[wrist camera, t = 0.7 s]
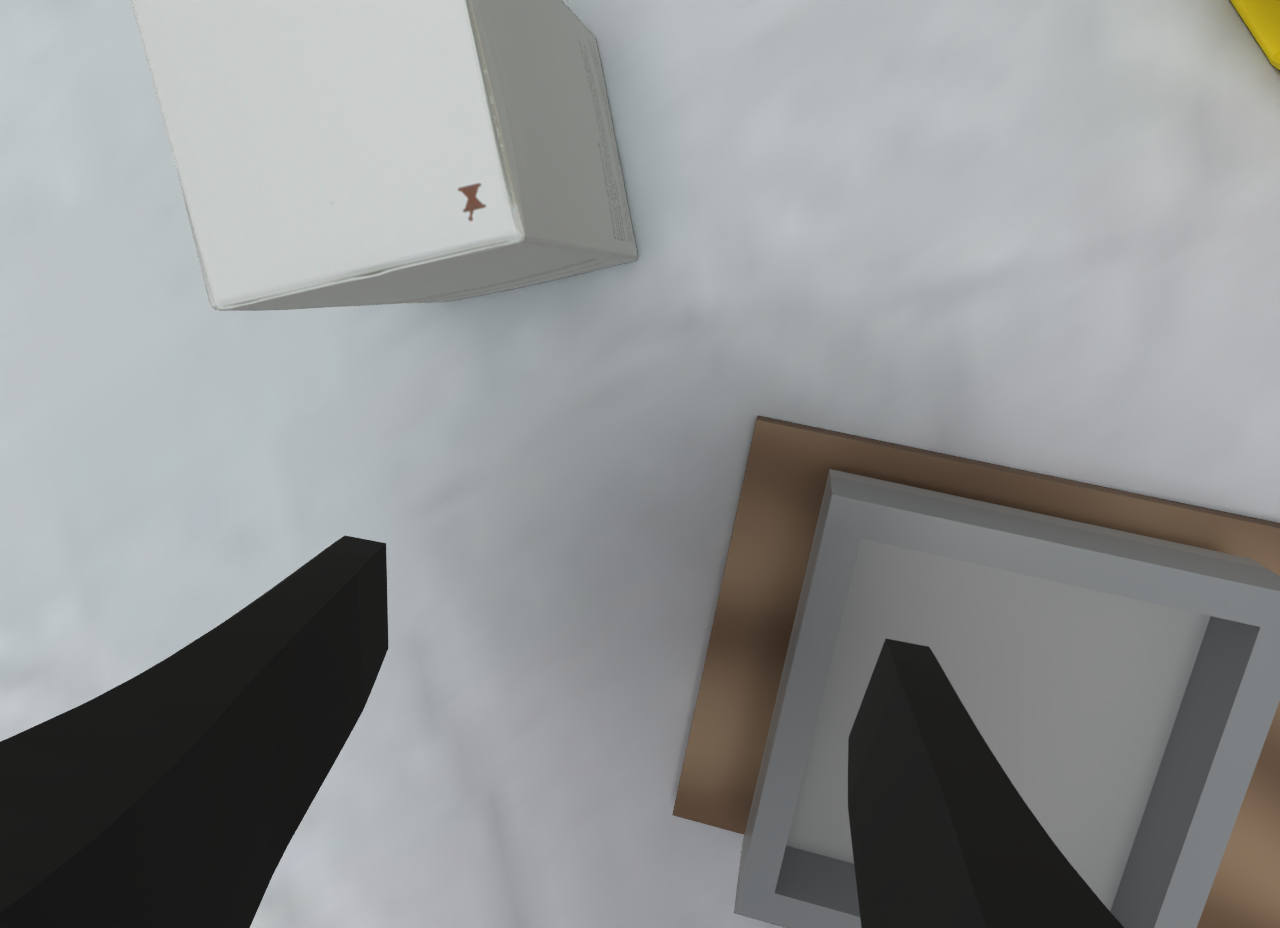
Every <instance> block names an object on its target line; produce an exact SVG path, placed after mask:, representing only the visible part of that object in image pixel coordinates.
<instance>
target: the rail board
mask: <svg viewBox="0 0 1280 928" xmlns="http://www.w3.org/2000/svg"><path fill="white" fill-rule="evenodd" d="M829 469H832V470H837V471H841V472H846V473H851V474H855V475H860V476H865V477H870V478H874V479H879V480H884V481H888V482H893V483H898V484H903V485H907V486H912V487H917V488H921V489H926V490H931V491H936V492H940V493H945V494H950V495H954V496H959V497H964V498H968V499H973V500H978V501H983V502H987V503H992V504H997V505H1001V506H1006V507H1011V508H1016V509H1020V510H1025V511H1030V512H1034V513H1039V514H1044V515H1048V516H1053V517H1058V518H1063V519H1067V520H1072V521H1077V522H1081V523H1086V524H1091V525H1096V526H1100V527H1105V528H1110V529H1114V530H1119V531H1124V532H1129V533H1133V534H1138V535H1143V536H1147V537H1152V538H1157V539H1161V540H1166V541H1171V542H1176V543H1180V544H1185V545H1190V546H1194V547H1199V548H1204V549H1209V550H1213V551H1218V552H1223V553H1227V554H1232V555H1237V556H1241V557H1246V558H1251V559H1253V560H1254V561H1256V562H1258V563H1259V564H1261V565H1262V566H1264V567H1266V568H1267V569H1269V570H1270V571H1272V572H1274V573H1275V574H1277V575H1278V576H1280V523H1275V522H1270V521H1265V520H1261V519H1256V518H1251V517H1246V516H1241V515H1236V514H1232V513H1227V512H1222V511H1217V510H1212V509H1207V508H1203V507H1198V506H1193V505H1188V504H1183V503H1178V502H1174V501H1169V500H1164V499H1159V498H1154V497H1149V496H1144V495H1140V494H1135V493H1130V492H1125V491H1120V490H1115V489H1111V488H1106V487H1101V486H1096V485H1091V484H1086V483H1082V482H1077V481H1072V480H1067V479H1062V478H1057V477H1053V476H1048V475H1043V474H1038V473H1033V472H1028V471H1023V470H1019V469H1014V468H1009V467H1004V466H999V465H994V464H990V463H985V462H980V461H975V460H970V459H965V458H961V457H956V456H951V455H946V454H941V453H936V452H932V451H927V450H922V449H917V448H912V447H907V446H902V445H898V444H893V443H888V442H883V441H878V440H873V439H869V438H864V437H859V436H854V435H849V434H844V433H840V432H835V431H830V430H825V429H820V428H815V427H811V426H806V425H801V424H796V423H791V422H786V421H781V420H777V419H772V418H767V417H762V416H758V417H757V419H756V423H755V428H754V433H753V438H752V442H751V447H750V452H749V456H748V461H747V466H746V471H745V475H744V480H743V485H742V489H741V494H740V499H739V504H738V508H737V513H736V518H735V523H734V527H733V532H732V537H731V541H730V546H729V551H728V556H727V560H726V565H725V570H724V575H723V579H722V584H721V589H720V593H719V598H718V603H717V608H716V612H715V617H714V622H713V626H712V631H711V636H710V641H709V645H708V650H707V655H706V660H705V664H704V669H703V674H702V678H701V683H700V688H699V693H698V697H697V702H696V707H695V711H694V716H693V721H692V726H691V730H690V735H689V740H688V745H687V749H686V754H685V759H684V763H683V768H682V773H681V778H680V782H679V787H678V792H677V796H676V801H675V806H674V811H673V815H674V816H678V817H681V818H685V819H689V820H693V821H696V822H700V823H704V824H707V825H711V826H715V827H718V828H722V829H726V830H729V831H733V832H737V833H741V834H744V835H745V831H746V826H747V822H748V818H749V813H750V809H751V805H752V800H753V796H754V792H755V788H756V783H757V779H758V775H759V770H760V766H761V762H762V757H763V753H764V749H765V745H766V740H767V736H768V732H769V727H770V723H771V719H772V714H773V710H774V706H775V702H776V697H777V693H778V689H779V684H780V680H781V676H782V671H783V667H784V663H785V659H786V654H787V650H788V646H789V641H790V637H791V633H792V628H793V624H794V620H795V616H796V611H797V607H798V603H799V598H800V594H801V590H802V585H803V581H804V577H805V573H806V568H807V564H808V560H809V555H810V551H811V547H812V542H813V538H814V534H815V530H816V525H817V521H818V517H819V512H820V508H821V504H822V500H823V495H824V491H825V487H826V482H827V478H828V474H829ZM1197 928H1280V701H1279V704H1278V707H1277V709H1276V712H1275V715H1274V718H1273V720H1272V723H1271V726H1270V729H1269V731H1268V734H1267V737H1266V740H1265V742H1264V745H1263V748H1262V750H1261V753H1260V756H1259V759H1258V761H1257V764H1256V767H1255V770H1254V772H1253V775H1252V778H1251V781H1250V783H1249V786H1248V789H1247V791H1246V794H1245V797H1244V800H1243V802H1242V805H1241V808H1240V811H1239V813H1238V816H1237V819H1236V822H1235V824H1234V827H1233V830H1232V832H1231V835H1230V838H1229V841H1228V843H1227V846H1226V849H1225V852H1224V854H1223V857H1222V860H1221V863H1220V865H1219V868H1218V871H1217V873H1216V876H1215V879H1214V882H1213V884H1212V887H1211V890H1210V893H1209V895H1208V898H1207V901H1206V904H1205V906H1204V909H1203V912H1202V914H1201V917H1200V920H1199V923H1198V925H1197Z"/></svg>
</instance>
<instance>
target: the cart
mask: <svg viewBox="0 0 1280 928" xmlns="http://www.w3.org/2000/svg"><path fill="white" fill-rule="evenodd" d="M885 639H891V640H897V641H902V642H907V643H912V644H918V645H923V646H928V647H930V649H931V650H932V652H933V653H934V655H935V657H936V658H937V660H938V662H939V664H940V665H941V667H942V669H943V670H944V672H945V674H946V676H947V677H948V679H949V681H950V683H951V684H952V686H953V688H954V690H955V691H956V693H957V695H958V697H959V698H960V700H961V702H962V703H963V705H964V707H965V708H966V710H967V712H968V713H969V715H970V717H971V719H972V720H973V722H974V724H975V725H976V727H977V729H978V730H979V732H980V733H981V735H982V737H983V738H984V740H985V742H986V743H987V745H988V746H989V748H990V750H991V751H992V753H993V754H994V756H995V757H996V759H997V760H998V762H999V764H1000V765H1001V767H1002V768H1003V770H1004V771H1005V773H1006V774H1007V776H1008V778H1009V779H1010V781H1011V782H1012V784H1013V785H1014V787H1015V788H1016V790H1017V791H1018V793H1019V794H1020V796H1021V797H1022V798H1023V800H1024V801H1025V803H1026V804H1027V806H1028V807H1029V809H1030V810H1031V811H1032V813H1033V814H1034V816H1035V817H1036V818H1037V820H1038V821H1039V823H1040V824H1041V825H1042V827H1043V828H1044V830H1045V831H1046V832H1047V834H1048V835H1049V837H1050V838H1051V839H1052V841H1053V842H1054V843H1055V845H1056V846H1057V847H1058V849H1059V850H1060V851H1061V852H1062V854H1063V855H1064V856H1065V858H1066V859H1067V860H1068V861H1069V863H1070V864H1071V865H1072V866H1073V868H1074V869H1075V870H1076V871H1077V872H1078V874H1079V875H1080V876H1081V877H1082V878H1083V880H1084V881H1085V882H1086V883H1087V885H1088V886H1089V887H1090V888H1091V889H1092V891H1093V892H1094V893H1095V894H1096V895H1097V897H1098V898H1099V899H1100V900H1101V901H1102V903H1103V904H1104V905H1105V906H1106V907H1107V909H1108V910H1109V911H1110V912H1111V913H1112V914H1113V915H1114V917H1115V918H1116V919H1117V920H1118V921H1119V922H1120V923H1121V924H1122V926H1123V927H1124V928H1197V925H1198V923H1199V920H1200V917H1201V914H1202V912H1203V909H1204V906H1205V904H1206V901H1207V898H1208V895H1209V893H1210V890H1211V887H1212V884H1213V882H1214V879H1215V876H1216V873H1217V871H1218V868H1219V865H1220V863H1221V860H1222V857H1223V854H1224V852H1225V849H1226V846H1227V843H1228V841H1229V838H1230V835H1231V832H1232V830H1233V827H1234V824H1235V822H1236V819H1237V816H1238V813H1239V811H1240V808H1241V805H1242V802H1243V800H1244V797H1245V794H1246V791H1247V789H1248V786H1249V783H1250V781H1251V778H1252V775H1253V772H1254V770H1255V767H1256V764H1257V761H1258V759H1259V756H1260V753H1261V750H1262V748H1263V745H1264V742H1265V740H1266V737H1267V734H1268V731H1269V729H1270V726H1271V723H1272V720H1273V718H1274V715H1275V712H1276V709H1277V707H1278V704H1279V701H1280V576H1278V575H1277V574H1275V573H1274V572H1272V571H1270V570H1269V569H1267V568H1266V567H1264V566H1262V565H1261V564H1259V563H1258V562H1256V561H1254V560H1253V559H1251V558H1246V557H1241V556H1237V555H1232V554H1227V553H1223V552H1218V551H1213V550H1209V549H1204V548H1199V547H1194V546H1190V545H1185V544H1180V543H1176V542H1171V541H1166V540H1161V539H1157V538H1152V537H1147V536H1143V535H1138V534H1133V533H1129V532H1124V531H1119V530H1114V529H1110V528H1105V527H1100V526H1096V525H1091V524H1086V523H1081V522H1077V521H1072V520H1067V519H1063V518H1058V517H1053V516H1048V515H1044V514H1039V513H1034V512H1030V511H1025V510H1020V509H1016V508H1011V507H1006V506H1001V505H997V504H992V503H987V502H983V501H978V500H973V499H968V498H964V497H959V496H954V495H950V494H945V493H940V492H936V491H931V490H926V489H921V488H917V487H912V486H907V485H903V484H898V483H893V482H888V481H884V480H879V479H874V478H870V477H865V476H860V475H855V474H851V473H846V472H841V471H837V470H832V469H829V474H828V478H827V482H826V487H825V491H824V495H823V500H822V504H821V508H820V512H819V517H818V521H817V525H816V530H815V534H814V538H813V542H812V547H811V551H810V555H809V560H808V564H807V568H806V573H805V577H804V581H803V585H802V590H801V594H800V598H799V603H798V607H797V611H796V616H795V620H794V624H793V628H792V633H791V637H790V641H789V646H788V650H787V654H786V659H785V663H784V667H783V671H782V676H781V680H780V684H779V689H778V693H777V697H776V702H775V706H774V710H773V714H772V719H771V723H770V727H769V732H768V736H767V740H766V745H765V749H764V753H763V757H762V762H761V766H760V770H759V775H758V779H757V783H756V788H755V792H754V796H753V800H752V805H751V809H750V813H749V818H748V822H747V826H746V831H745V835H744V839H743V843H742V851H741V860H740V868H739V876H738V884H737V892H736V901H735V909H734V913H736V914H740V915H743V916H747V917H750V918H754V919H757V920H761V921H764V922H768V923H771V924H775V925H778V926H782V927H785V928H862V927H861V919H860V910H859V902H858V893H857V885H856V876H855V867H854V859H853V850H852V841H851V831H850V822H849V812H848V739H849V735H850V732H851V729H852V727H853V724H854V721H855V719H856V716H857V713H858V711H859V708H860V705H861V703H862V700H863V697H864V695H865V692H866V689H867V687H868V684H869V681H870V679H871V676H872V673H873V671H874V668H875V665H876V663H877V660H878V657H879V655H880V652H881V649H882V647H883V644H884V641H885Z"/></svg>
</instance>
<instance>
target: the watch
mask: <svg viewBox="0 0 1280 928" xmlns="http://www.w3.org/2000/svg"><path fill="white" fill-rule="evenodd" d="M1230 1H1231V2H1232V4H1233V5H1234V7H1235V8H1236V10H1237V11H1238V13H1239V15H1240V16H1241V18H1242V19H1243V21H1244V22H1245V24H1246V25H1247V27H1248V28H1249V30H1250V31H1251V33H1252V35H1253V36H1254V38H1255V39H1256V41H1257V42H1258V44H1259V45H1260V47H1261V48H1262V50H1263V51H1264V53H1265V55H1266V56H1267V58H1268V59H1269V61H1270V64H1271V65H1273V66H1274V67H1276V68H1277V69H1279V70H1280V0H1230Z"/></svg>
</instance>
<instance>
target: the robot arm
mask: <svg viewBox="0 0 1280 928" xmlns="http://www.w3.org/2000/svg"><path fill="white" fill-rule="evenodd" d="M387 650H388V614H387V569H386V543H381V542H376V541H370V540H365V539H360V538H355V537H349V536H344V537H342V538H341V539H339V540H338V541H336V542H335V543H333V544H332V545H331V546H329V547H328V548H326V549H325V550H324V551H322V552H321V553H320V554H318V555H317V556H316V557H314V558H313V559H311V560H310V561H309V562H307V563H306V564H305V565H303V566H302V567H301V568H299V569H298V570H297V571H295V572H294V573H293V574H291V575H290V576H288V577H287V578H286V579H284V580H283V581H282V582H280V583H279V584H277V585H276V586H275V587H273V588H272V589H271V590H269V591H268V592H266V593H265V594H264V595H262V596H261V597H259V598H258V599H256V600H255V601H254V602H252V603H251V604H249V605H248V606H246V607H245V608H244V609H242V610H241V611H239V612H238V613H236V614H235V615H233V616H232V617H231V618H229V619H228V620H226V621H225V622H223V623H222V624H220V625H219V626H217V627H216V628H214V629H213V630H211V631H210V632H208V633H206V634H205V635H203V636H202V637H200V638H198V639H197V640H195V641H194V642H192V643H191V644H189V645H187V646H186V647H184V648H183V649H181V650H180V651H178V652H176V653H175V654H173V655H172V656H170V657H169V658H167V659H165V660H164V661H162V662H160V663H158V664H157V665H155V666H153V667H152V668H150V669H148V670H146V671H145V672H143V673H141V674H139V675H138V676H136V677H134V678H132V679H130V680H128V681H127V682H125V683H123V684H121V685H119V686H117V687H115V688H113V689H111V690H110V691H108V692H106V693H104V694H102V695H100V696H98V697H96V698H94V699H92V700H90V701H88V702H86V703H84V704H82V705H80V706H78V707H76V708H74V709H72V710H69V711H67V712H65V713H63V714H61V715H59V716H56V717H54V718H52V719H50V720H48V721H45V722H43V723H41V724H39V725H37V726H34V727H32V728H30V729H28V730H26V731H24V732H21V733H19V734H17V735H15V736H13V737H10V738H8V739H6V740H4V741H1V742H0V928H250V925H251V923H252V921H253V918H254V916H255V914H256V912H257V909H258V907H259V905H260V903H261V900H262V898H263V896H264V893H265V891H266V889H267V887H268V884H269V882H270V880H271V878H272V875H273V873H274V871H275V869H276V867H277V865H278V863H279V861H280V859H281V858H282V856H283V854H284V852H285V850H286V848H287V846H288V844H289V842H290V840H291V838H292V837H293V835H294V833H295V831H296V830H297V828H298V826H299V824H300V822H301V821H302V819H303V817H304V815H305V814H306V812H307V810H308V808H309V806H310V805H311V803H312V801H313V799H314V798H315V796H316V794H317V792H318V790H319V789H320V787H321V785H322V783H323V782H324V780H325V778H326V776H327V774H328V773H329V771H330V769H331V767H332V766H333V764H334V762H335V760H336V758H337V757H338V755H339V753H340V751H341V749H342V748H343V746H344V744H345V742H346V740H347V739H348V737H349V735H350V733H351V731H352V730H353V728H354V726H355V724H356V722H357V720H358V719H359V717H360V715H361V713H362V711H363V709H364V707H365V704H366V702H367V700H368V697H369V695H370V692H371V690H372V688H373V685H374V683H375V680H376V678H377V675H378V673H379V670H380V668H381V665H382V662H383V660H384V657H385V655H386V652H387ZM848 812H849V822H850V831H851V841H852V850H853V859H854V867H855V876H856V885H857V893H858V902H859V910H860V919H861V927H862V928H1124V927H1123V926H1122V924H1121V923H1120V922H1119V921H1118V920H1117V919H1116V918H1115V917H1114V915H1113V914H1112V913H1111V912H1110V911H1109V910H1108V909H1107V907H1106V906H1105V905H1104V904H1103V903H1102V901H1101V900H1100V899H1099V898H1098V897H1097V895H1096V894H1095V893H1094V892H1093V891H1092V889H1091V888H1090V887H1089V886H1088V885H1087V883H1086V882H1085V881H1084V880H1083V878H1082V877H1081V876H1080V875H1079V874H1078V872H1077V871H1076V870H1075V869H1074V868H1073V866H1072V865H1071V864H1070V863H1069V861H1068V860H1067V859H1066V858H1065V856H1064V855H1063V854H1062V852H1061V851H1060V850H1059V849H1058V847H1057V846H1056V845H1055V843H1054V842H1053V841H1052V839H1051V838H1050V837H1049V835H1048V834H1047V832H1046V831H1045V830H1044V828H1043V827H1042V825H1041V824H1040V823H1039V821H1038V820H1037V818H1036V817H1035V816H1034V814H1033V813H1032V811H1031V810H1030V809H1029V807H1028V806H1027V804H1026V803H1025V801H1024V800H1023V798H1022V797H1021V796H1020V794H1019V793H1018V791H1017V790H1016V788H1015V787H1014V785H1013V784H1012V782H1011V781H1010V779H1009V778H1008V776H1007V774H1006V773H1005V771H1004V770H1003V768H1002V767H1001V765H1000V764H999V762H998V760H997V759H996V757H995V756H994V754H993V753H992V751H991V750H990V748H989V746H988V745H987V743H986V742H985V740H984V738H983V737H982V735H981V733H980V732H979V730H978V729H977V727H976V725H975V724H974V722H973V720H972V719H971V717H970V715H969V713H968V712H967V710H966V708H965V707H964V705H963V703H962V702H961V700H960V698H959V697H958V695H957V693H956V691H955V690H954V688H953V686H952V684H951V683H950V681H949V679H948V677H947V676H946V674H945V672H944V670H943V669H942V667H941V665H940V664H939V662H938V660H937V658H936V657H935V655H934V653H933V652H932V650H931V649H930V647H928V646H923V645H918V644H912V643H907V642H902V641H897V640H891V639H885V641H884V644H883V647H882V649H881V652H880V655H879V657H878V660H877V663H876V665H875V668H874V671H873V673H872V676H871V679H870V681H869V684H868V687H867V689H866V692H865V695H864V697H863V700H862V703H861V705H860V708H859V711H858V713H857V716H856V719H855V721H854V724H853V727H852V729H851V732H850V735H849V739H848Z"/></svg>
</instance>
